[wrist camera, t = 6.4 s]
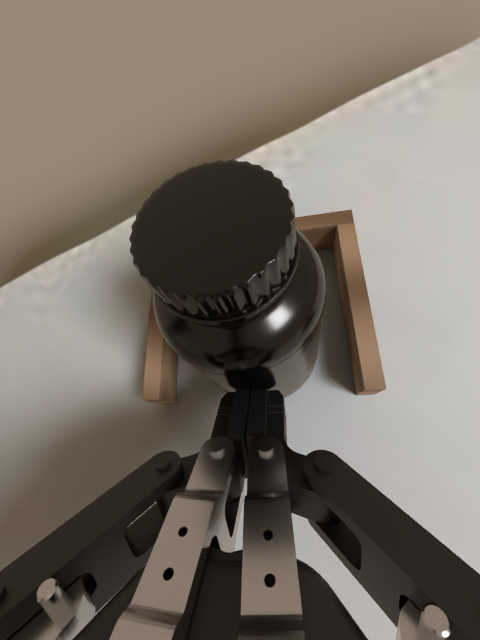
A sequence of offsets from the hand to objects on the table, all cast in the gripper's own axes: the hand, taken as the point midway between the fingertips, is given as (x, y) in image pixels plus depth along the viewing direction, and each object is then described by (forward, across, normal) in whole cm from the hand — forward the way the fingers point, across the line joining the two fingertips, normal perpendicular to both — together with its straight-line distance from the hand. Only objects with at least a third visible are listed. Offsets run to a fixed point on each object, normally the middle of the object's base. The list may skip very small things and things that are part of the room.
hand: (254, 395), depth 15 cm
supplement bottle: (+5, 0, 0) cm, 5 cm away
